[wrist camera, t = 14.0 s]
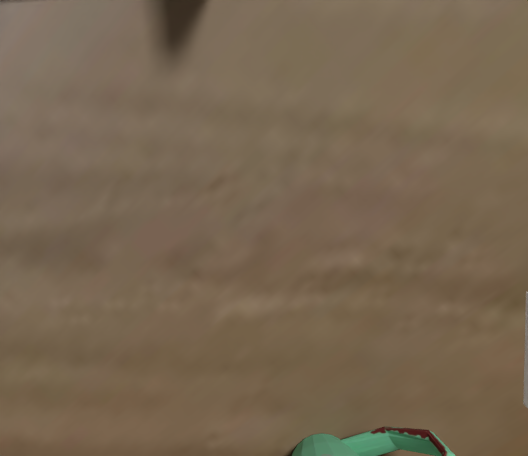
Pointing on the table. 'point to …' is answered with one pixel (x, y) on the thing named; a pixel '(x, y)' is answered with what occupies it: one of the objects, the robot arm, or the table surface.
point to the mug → (373, 443)
